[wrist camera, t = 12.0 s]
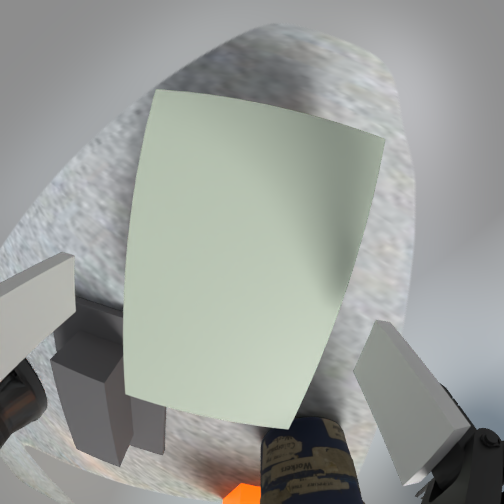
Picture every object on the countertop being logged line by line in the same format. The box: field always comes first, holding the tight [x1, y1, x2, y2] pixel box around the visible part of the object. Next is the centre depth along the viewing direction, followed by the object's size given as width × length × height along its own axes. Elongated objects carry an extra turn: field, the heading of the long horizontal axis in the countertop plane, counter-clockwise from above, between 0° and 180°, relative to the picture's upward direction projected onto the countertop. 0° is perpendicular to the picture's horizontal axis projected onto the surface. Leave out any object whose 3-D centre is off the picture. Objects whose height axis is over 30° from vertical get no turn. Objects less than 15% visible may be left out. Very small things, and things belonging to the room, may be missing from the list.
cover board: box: [123, 89, 385, 429], centre depth 15 cm, size 11×18×2 cm, turn 168°
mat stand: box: [50, 296, 166, 467], centre depth 23 cm, size 13×20×6 cm, turn 168°
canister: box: [260, 417, 365, 504], centre depth 19 cm, size 10×10×18 cm
